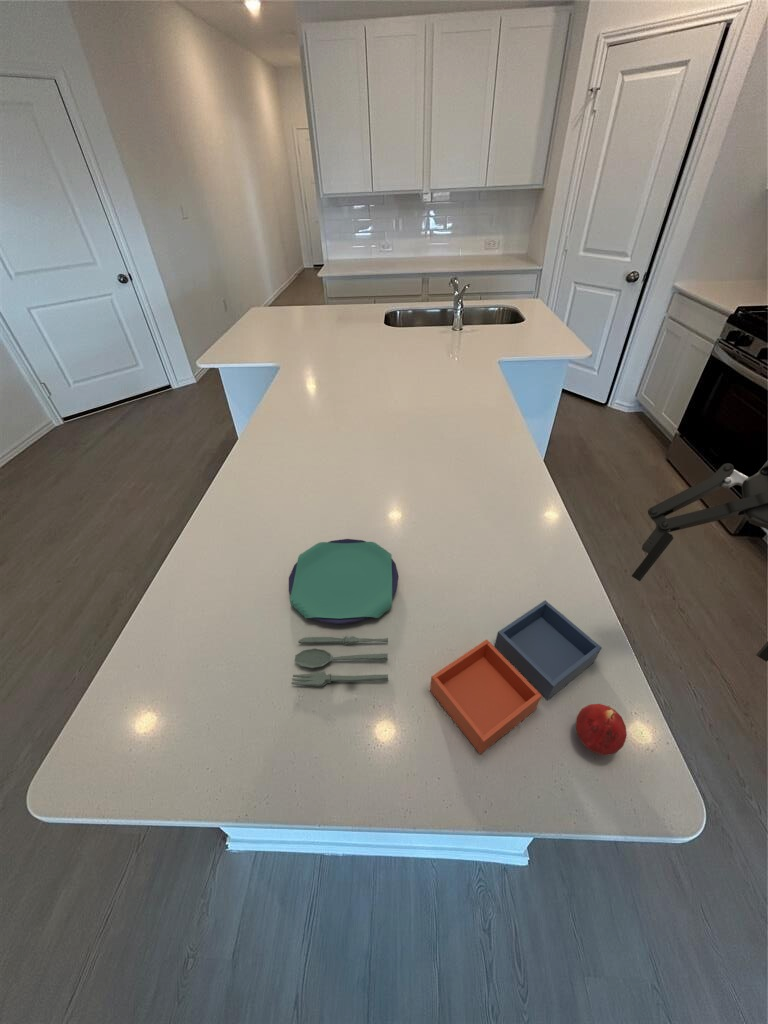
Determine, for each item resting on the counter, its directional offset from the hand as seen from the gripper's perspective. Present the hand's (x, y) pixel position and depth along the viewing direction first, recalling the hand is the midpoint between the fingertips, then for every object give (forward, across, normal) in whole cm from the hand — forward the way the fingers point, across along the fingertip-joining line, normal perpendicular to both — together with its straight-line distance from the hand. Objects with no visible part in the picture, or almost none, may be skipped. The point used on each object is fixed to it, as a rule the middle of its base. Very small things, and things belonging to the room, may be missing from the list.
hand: (692, 615), depth 50 cm
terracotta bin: (+26, +13, -2) cm, 29 cm away
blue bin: (+17, +12, -12) cm, 24 cm away
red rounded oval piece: (+21, 0, -7) cm, 22 cm away
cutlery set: (+31, +40, +2) cm, 50 cm away
